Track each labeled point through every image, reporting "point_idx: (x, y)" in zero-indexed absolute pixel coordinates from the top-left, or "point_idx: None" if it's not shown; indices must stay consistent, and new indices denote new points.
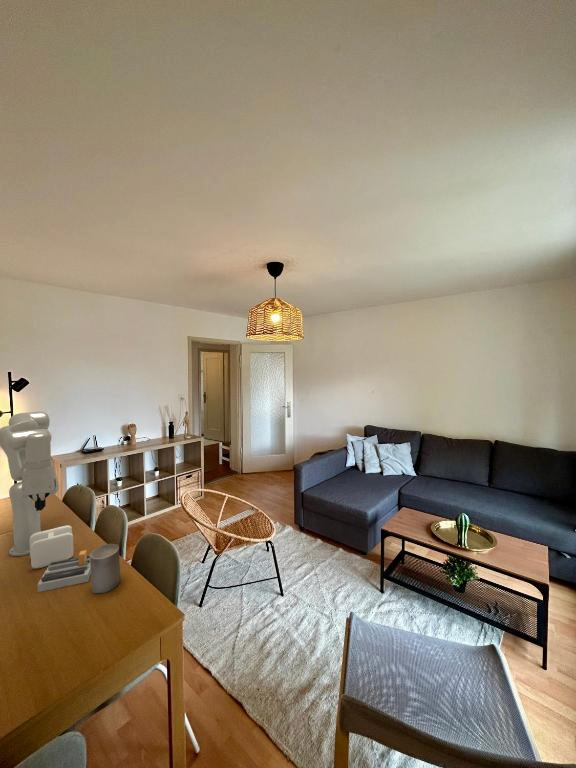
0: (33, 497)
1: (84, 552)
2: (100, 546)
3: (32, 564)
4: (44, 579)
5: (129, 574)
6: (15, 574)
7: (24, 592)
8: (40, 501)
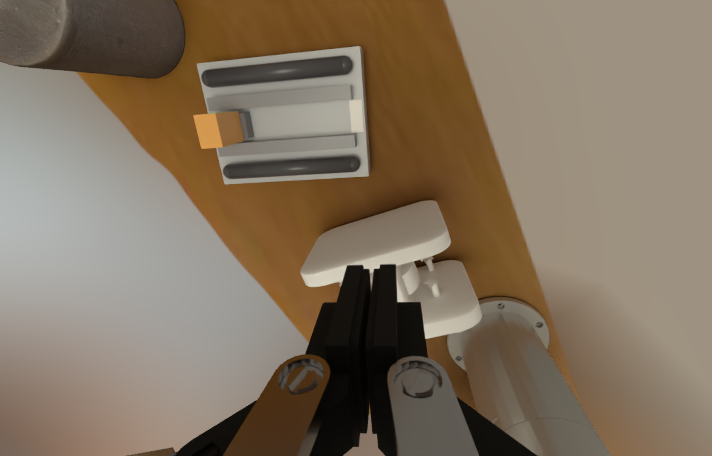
0: (450, 428)
1: (200, 130)
2: (45, 45)
3: (433, 203)
4: (338, 56)
5: None
6: (481, 191)
7: (409, 64)
8: (334, 339)
